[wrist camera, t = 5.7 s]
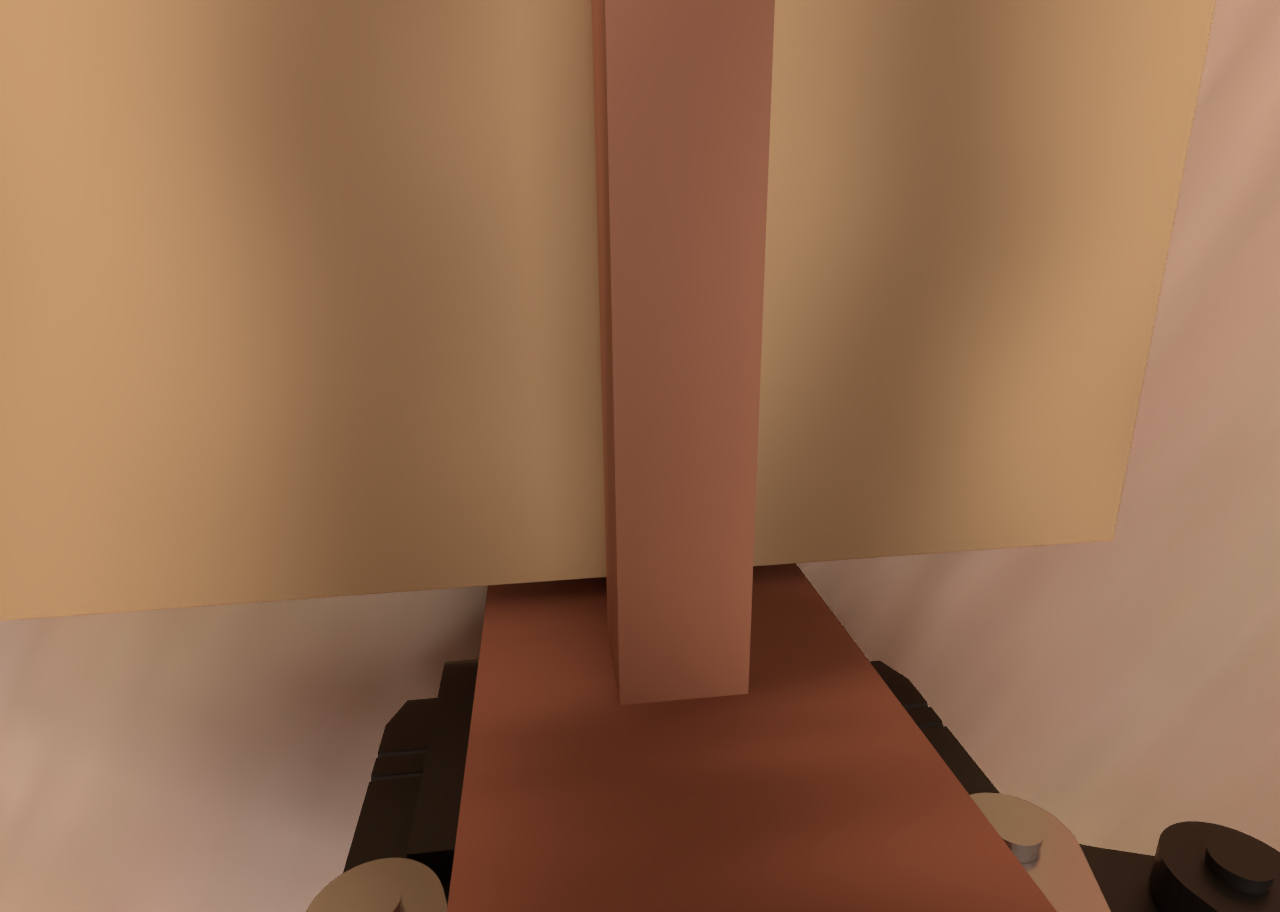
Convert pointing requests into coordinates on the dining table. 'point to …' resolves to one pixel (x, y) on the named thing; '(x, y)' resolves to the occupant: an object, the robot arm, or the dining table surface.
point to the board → (550, 287)
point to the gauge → (696, 578)
